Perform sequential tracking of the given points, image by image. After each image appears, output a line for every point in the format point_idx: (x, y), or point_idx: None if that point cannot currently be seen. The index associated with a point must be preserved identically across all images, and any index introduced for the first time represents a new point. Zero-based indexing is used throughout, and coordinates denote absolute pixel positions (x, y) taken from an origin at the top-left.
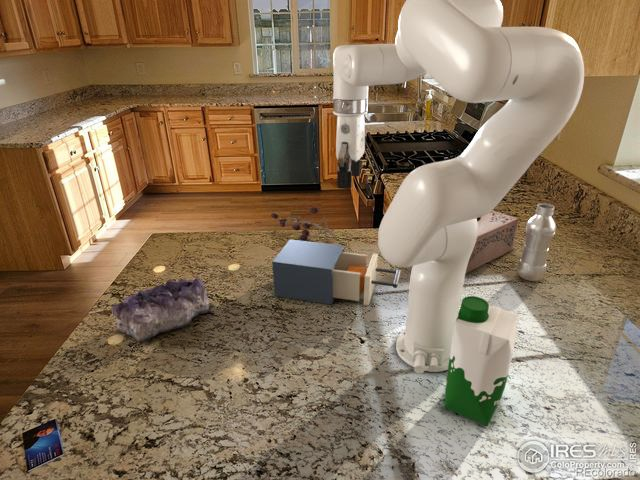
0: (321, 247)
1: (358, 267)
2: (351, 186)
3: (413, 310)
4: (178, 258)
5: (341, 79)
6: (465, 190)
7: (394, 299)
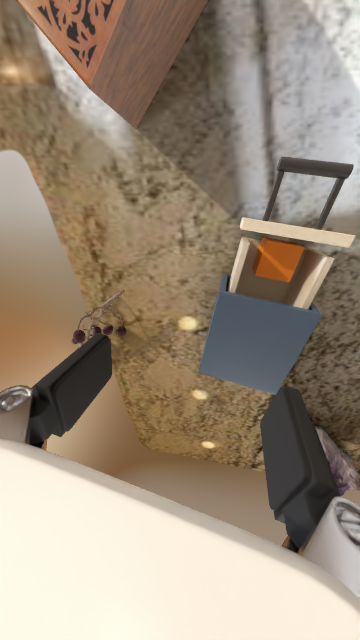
0: (227, 330)
1: (265, 257)
2: (289, 390)
3: None
4: (186, 434)
5: None
6: None
7: (298, 178)
